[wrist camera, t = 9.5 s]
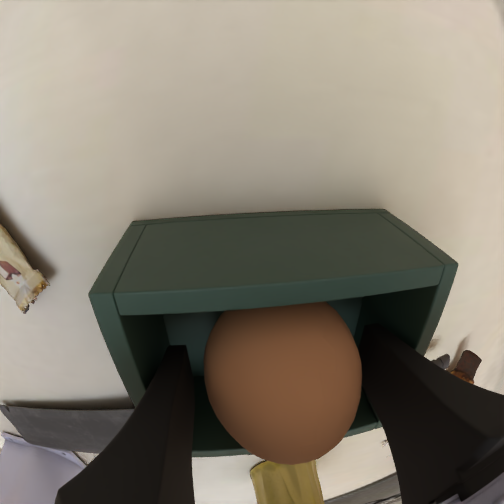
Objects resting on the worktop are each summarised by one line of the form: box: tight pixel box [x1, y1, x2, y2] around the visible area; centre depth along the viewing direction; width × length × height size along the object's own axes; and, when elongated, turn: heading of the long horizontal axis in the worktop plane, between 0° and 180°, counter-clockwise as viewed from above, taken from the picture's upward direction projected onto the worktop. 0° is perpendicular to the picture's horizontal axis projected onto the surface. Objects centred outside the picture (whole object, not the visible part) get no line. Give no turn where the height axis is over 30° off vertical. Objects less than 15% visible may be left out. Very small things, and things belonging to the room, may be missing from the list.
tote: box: [89, 209, 458, 457], centre depth 11 cm, size 10×9×5 cm
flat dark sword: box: [0, 354, 450, 455], centre depth 16 cm, size 7×35×2 cm, turn 103°
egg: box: [204, 301, 362, 465], centre depth 10 cm, size 5×5×7 cm
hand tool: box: [451, 350, 482, 384], centre depth 22 cm, size 26×3×4 cm, turn 12°
